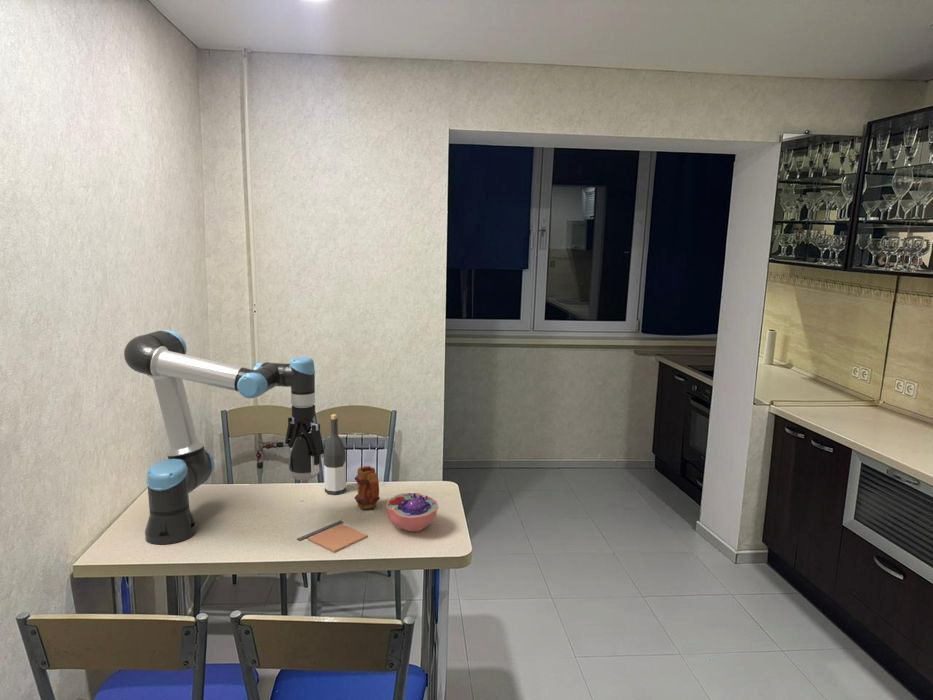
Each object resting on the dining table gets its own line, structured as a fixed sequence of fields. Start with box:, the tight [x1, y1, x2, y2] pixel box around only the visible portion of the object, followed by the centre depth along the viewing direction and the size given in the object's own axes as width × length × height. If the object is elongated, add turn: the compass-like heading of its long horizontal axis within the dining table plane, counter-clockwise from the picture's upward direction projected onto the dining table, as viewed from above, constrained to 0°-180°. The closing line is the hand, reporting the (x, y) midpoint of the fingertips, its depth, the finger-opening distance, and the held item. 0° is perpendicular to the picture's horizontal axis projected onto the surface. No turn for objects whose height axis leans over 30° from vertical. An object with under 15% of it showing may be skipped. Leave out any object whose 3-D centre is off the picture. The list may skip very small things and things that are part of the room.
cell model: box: [385, 492, 439, 533], centre depth 219 cm, size 17×20×11 cm
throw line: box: [296, 519, 344, 542], centre depth 216 cm, size 2×18×1 cm, turn 141°
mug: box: [353, 465, 380, 510], centre depth 232 cm, size 15×8×15 cm, turn 27°
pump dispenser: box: [288, 433, 321, 482], centre depth 216 cm, size 10×10×15 cm
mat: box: [306, 523, 369, 554], centre depth 211 cm, size 13×14×1 cm
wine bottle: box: [323, 413, 347, 496], centre depth 246 cm, size 8×8×30 cm
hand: (304, 469), depth 217 cm, fingers closed on pump dispenser, 10 cm apart
